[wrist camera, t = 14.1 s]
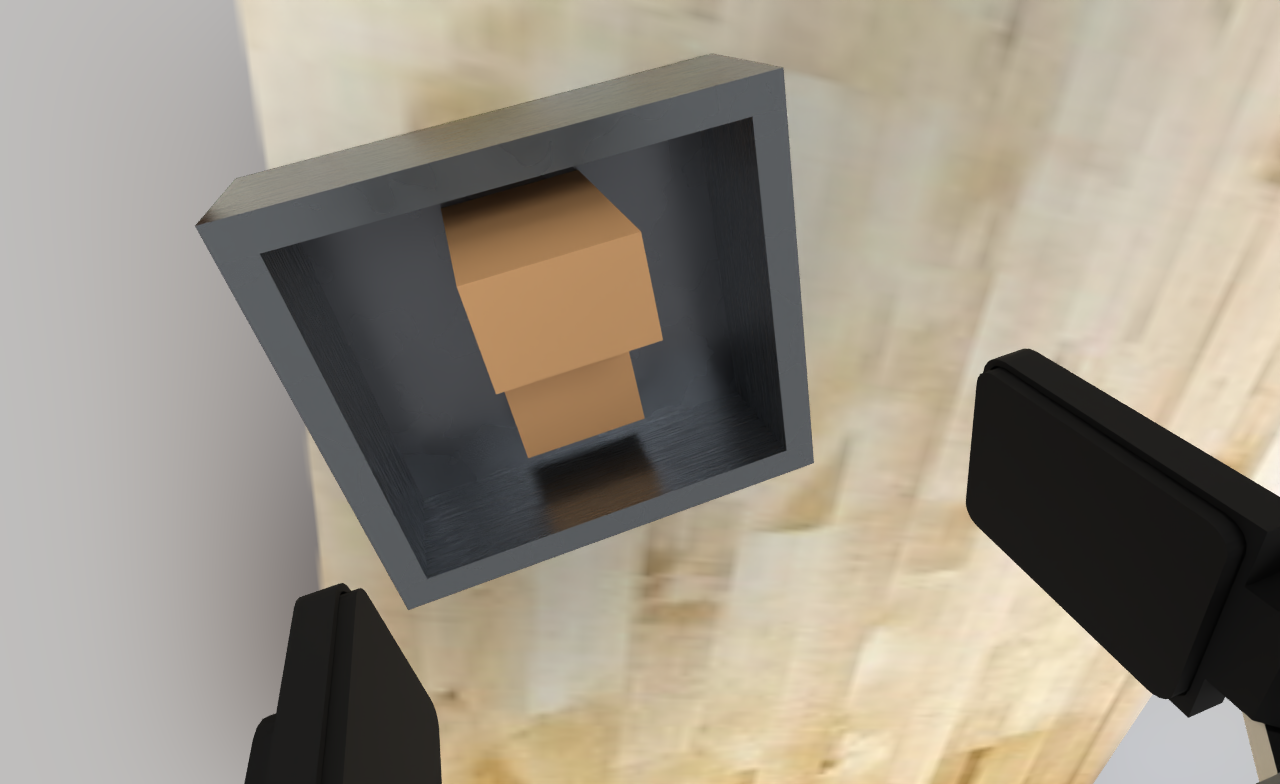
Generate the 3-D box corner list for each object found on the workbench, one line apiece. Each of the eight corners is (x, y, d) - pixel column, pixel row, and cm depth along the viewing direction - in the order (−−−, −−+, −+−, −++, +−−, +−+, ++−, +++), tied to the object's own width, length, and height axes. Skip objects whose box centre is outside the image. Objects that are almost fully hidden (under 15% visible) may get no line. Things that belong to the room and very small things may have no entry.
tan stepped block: (440, 208, 22) (456, 287, 16) (577, 169, 23) (641, 231, 17) (522, 436, 27) (557, 560, 21) (633, 399, 27) (697, 508, 22)
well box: (235, 178, 21) (194, 225, 16) (712, 53, 23) (783, 67, 19) (406, 517, 28) (408, 610, 24) (755, 397, 30) (813, 462, 26)
